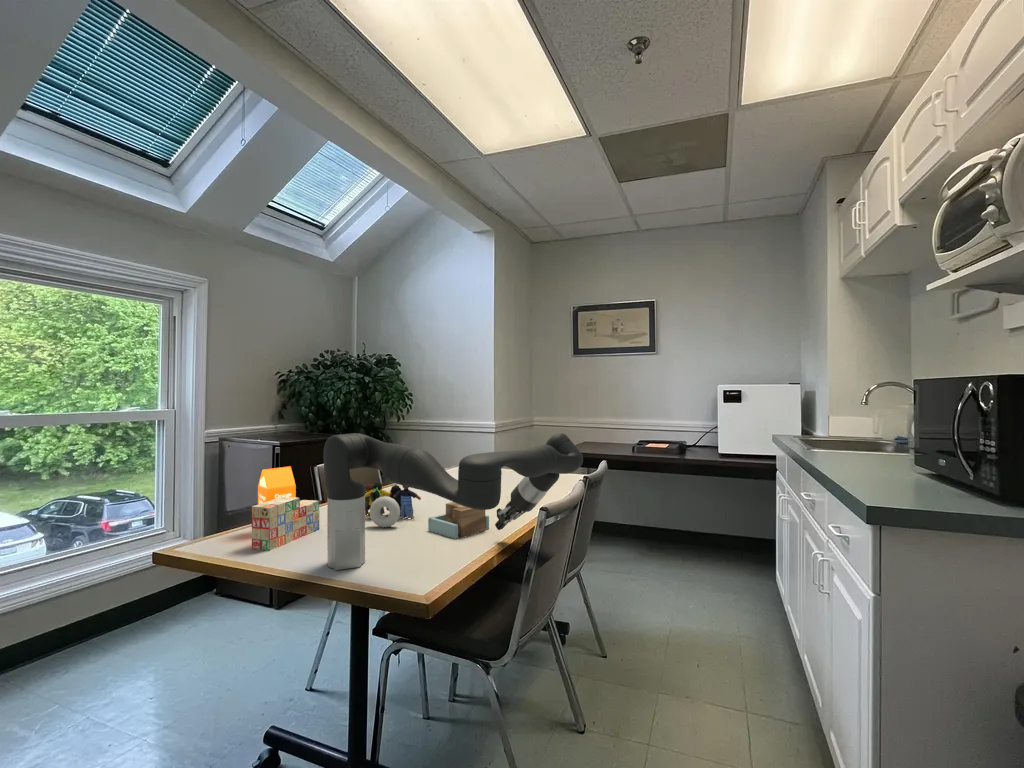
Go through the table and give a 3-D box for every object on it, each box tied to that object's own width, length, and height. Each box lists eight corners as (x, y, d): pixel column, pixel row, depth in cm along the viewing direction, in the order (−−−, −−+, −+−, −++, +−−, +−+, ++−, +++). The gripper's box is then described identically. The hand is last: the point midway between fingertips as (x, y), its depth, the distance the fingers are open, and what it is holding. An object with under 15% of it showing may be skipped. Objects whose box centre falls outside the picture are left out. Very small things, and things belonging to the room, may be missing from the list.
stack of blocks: (303, 528, 158) (303, 490, 158) (319, 529, 156) (319, 491, 156) (251, 549, 137) (251, 505, 137) (269, 551, 136) (269, 507, 136)
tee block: (485, 530, 154) (485, 505, 154) (461, 537, 147) (461, 511, 147) (462, 524, 162) (462, 499, 162) (438, 530, 155) (438, 505, 155)
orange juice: (296, 530, 154) (296, 467, 155) (266, 537, 148) (266, 471, 148) (286, 526, 160) (286, 464, 160) (257, 531, 154) (257, 468, 154)
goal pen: (489, 528, 157) (489, 516, 157) (455, 538, 146) (455, 525, 146) (462, 521, 165) (462, 509, 165) (428, 530, 154) (428, 517, 154)
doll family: (424, 513, 176) (424, 476, 176) (420, 520, 167) (420, 481, 167) (359, 513, 175) (359, 476, 175) (352, 520, 166) (351, 481, 166)
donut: (401, 526, 159) (401, 495, 159) (398, 529, 156) (398, 497, 156) (372, 525, 161) (372, 494, 161) (368, 528, 157) (367, 497, 157)
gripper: (521, 506, 129) (488, 543, 137) (552, 498, 139) (519, 532, 147) (506, 484, 133) (475, 521, 141) (537, 477, 142) (506, 512, 151)
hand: (498, 527), depth 144 cm, fingers closed
